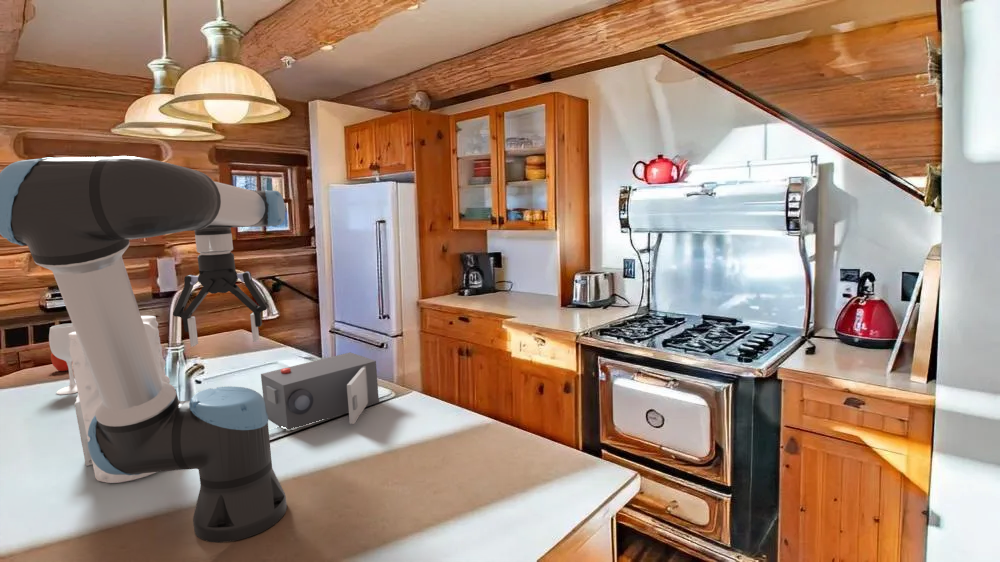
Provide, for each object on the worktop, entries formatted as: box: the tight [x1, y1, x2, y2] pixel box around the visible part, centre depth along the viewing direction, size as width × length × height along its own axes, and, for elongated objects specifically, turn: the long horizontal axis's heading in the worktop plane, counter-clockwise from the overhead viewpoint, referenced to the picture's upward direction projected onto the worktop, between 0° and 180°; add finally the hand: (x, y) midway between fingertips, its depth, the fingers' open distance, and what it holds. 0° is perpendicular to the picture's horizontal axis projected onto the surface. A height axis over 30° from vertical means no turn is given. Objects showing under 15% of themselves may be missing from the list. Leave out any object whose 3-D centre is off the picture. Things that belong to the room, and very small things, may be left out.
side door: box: [347, 366, 369, 425], centre depth 144 cm, size 2×15×10 cm, turn 179°
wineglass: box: [48, 322, 78, 396], centre depth 175 cm, size 9×9×21 cm
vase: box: [68, 315, 171, 484], centre depth 119 cm, size 17×16×32 cm
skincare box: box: [74, 394, 93, 466], centre depth 126 cm, size 8×6×15 cm
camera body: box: [260, 351, 380, 429], centre depth 149 cm, size 16×27×13 cm, turn 134°
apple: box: [50, 352, 69, 372], centre depth 198 cm, size 6×6×8 cm
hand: (225, 342), depth 131 cm, fingers open, 13 cm apart
